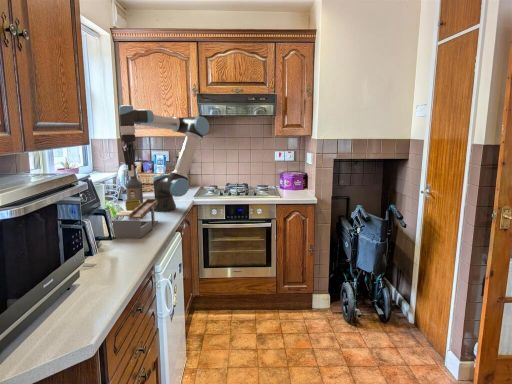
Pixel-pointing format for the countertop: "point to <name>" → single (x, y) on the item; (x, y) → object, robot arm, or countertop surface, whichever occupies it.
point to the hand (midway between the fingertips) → (131, 176)
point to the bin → (131, 228)
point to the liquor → (134, 188)
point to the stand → (151, 218)
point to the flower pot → (132, 205)
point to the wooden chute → (140, 209)
